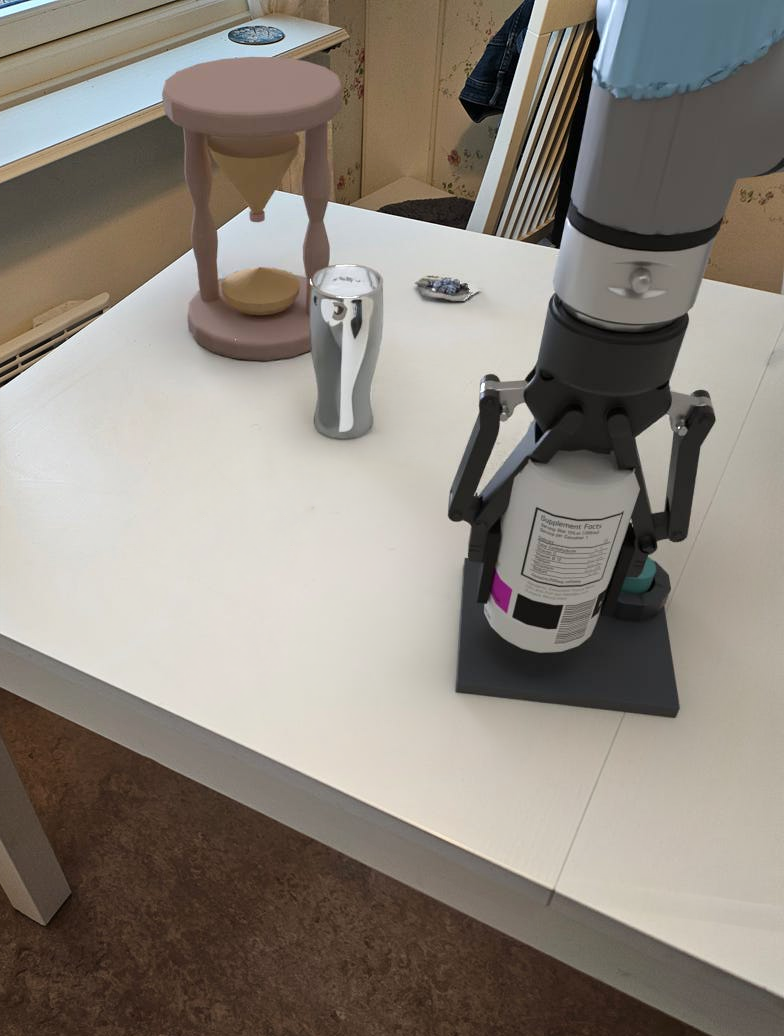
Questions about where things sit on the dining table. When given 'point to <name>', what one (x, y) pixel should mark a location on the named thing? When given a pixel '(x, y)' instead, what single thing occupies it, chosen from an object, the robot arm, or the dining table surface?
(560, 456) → the supplement can
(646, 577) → the tare button
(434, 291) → the blueberries
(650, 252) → the robot arm
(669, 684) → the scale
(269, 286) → the hourglass
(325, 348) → the beer glass
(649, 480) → the dining table surface
